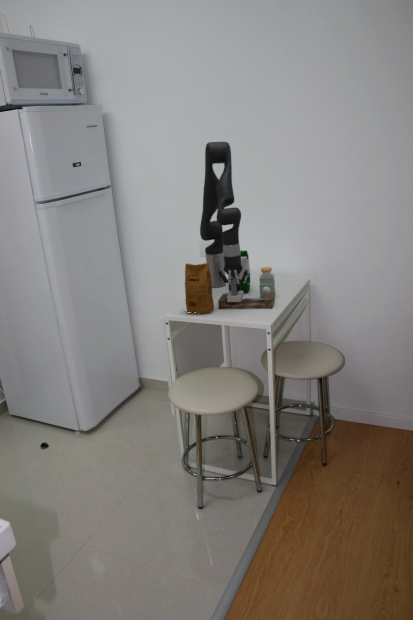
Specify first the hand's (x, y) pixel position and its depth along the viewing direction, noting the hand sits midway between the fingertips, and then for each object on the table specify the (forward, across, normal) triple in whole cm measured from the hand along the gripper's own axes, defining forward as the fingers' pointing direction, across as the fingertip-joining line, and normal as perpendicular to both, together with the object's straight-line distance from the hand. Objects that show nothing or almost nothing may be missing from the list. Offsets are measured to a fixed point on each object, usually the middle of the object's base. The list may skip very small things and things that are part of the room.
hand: (235, 291), depth 225 cm
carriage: (+4, 0, 0) cm, 4 cm away
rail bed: (+7, +5, 0) cm, 8 cm away
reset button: (-3, +13, +12) cm, 18 cm away
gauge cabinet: (+7, +13, +12) cm, 19 cm away
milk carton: (+7, -1, +21) cm, 22 cm away
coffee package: (+7, -15, -7) cm, 18 cm away
